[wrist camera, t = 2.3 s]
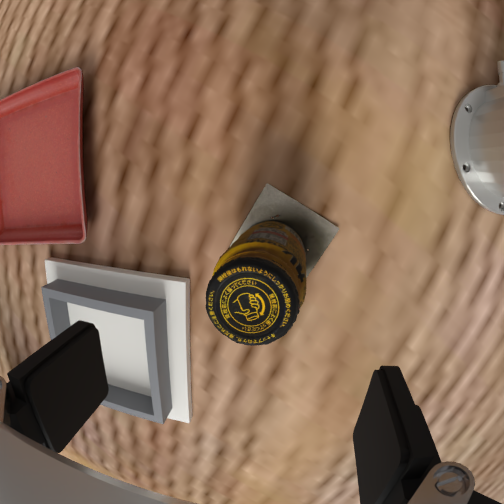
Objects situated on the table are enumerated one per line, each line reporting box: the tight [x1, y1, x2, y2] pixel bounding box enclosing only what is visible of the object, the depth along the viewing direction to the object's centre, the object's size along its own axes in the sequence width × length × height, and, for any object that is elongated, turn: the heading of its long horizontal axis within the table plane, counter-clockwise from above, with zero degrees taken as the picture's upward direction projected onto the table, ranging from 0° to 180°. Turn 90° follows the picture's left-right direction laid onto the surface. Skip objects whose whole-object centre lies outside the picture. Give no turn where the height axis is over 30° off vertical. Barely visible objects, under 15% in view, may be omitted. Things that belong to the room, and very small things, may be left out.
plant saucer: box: [0, 67, 87, 245], centre depth 29 cm, size 18×18×3 cm
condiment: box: [206, 183, 339, 345], centre depth 23 cm, size 7×8×12 cm
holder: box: [42, 257, 192, 424], centre depth 32 cm, size 18×18×4 cm
